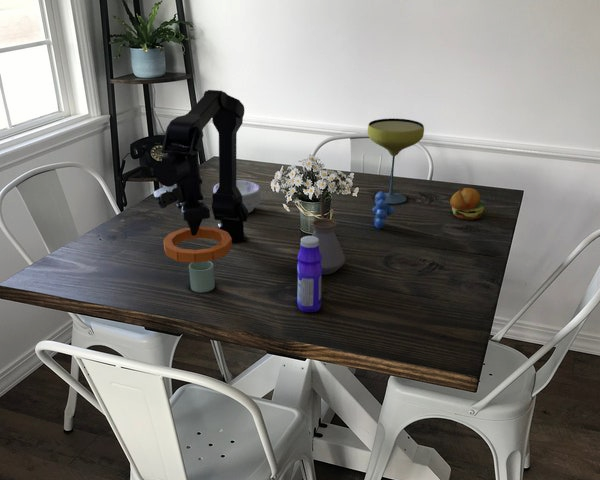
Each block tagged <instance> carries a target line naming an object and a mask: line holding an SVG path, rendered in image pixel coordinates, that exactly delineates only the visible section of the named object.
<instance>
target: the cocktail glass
mask: <svg viewBox="0 0 600 480" xmlns="http://www.w3.org/2000/svg"><path fill="white" fill-rule="evenodd" d="M424 134H425V126H424V124H423V123H422V122H420V121H417V120H414V119H413V120H412V119H406V118H380V119H374V120H372V121H370V122H369V123H368V124H367V136H368V138H369V139H370V140H371V141H372V142H373V143H374V144H376V145H378V146H380V147H381V148H384V149H385V150H387V152H388V153H389V155H390V156H391V157H392V161H391V174H390V185H389V190H388V192H384V193H385V195H386V196H387V198H386V199H385V201H386V202H387V204H388V205H400V204H403V203H405V202H406V201H407V197H406V195H404V194H401V193H397V192H394V187H393V186H394V172H395V171H394V170H395V157H397V156H398V154H400V152H401V151H403V150H404V149H407V148H410V147H412V146H414V145H416V144H418V143H420V141H421V140H423V137H424ZM376 199H377V198H376V197H375V196H374V201H375V200H376Z"/></svg>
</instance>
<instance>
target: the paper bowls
mask: <svg viewBox="0 0 600 480" xmlns="http://www.w3.org/2000/svg"><path fill="white" fill-rule="evenodd" d="M236 186H237V188H238V189H239V191H240V193H241V194H242V203H243V204H244V205H245V207H246V208H247V210H248V214H249V213H251V212H253V211H254V209H255V207H258V206H259V205H261V202H262V200H261V199H262V195H261V194H262V192H261V191H262V189H261V186H260V185H259V184H258V183H256V182H253V181H249V180H238V179H236ZM218 187H219V182H218V183H216V184H215V185H214V186H213V189H212V195H213V194H214V193H215V192H216V191H217V189H218Z"/></svg>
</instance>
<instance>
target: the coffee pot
mask: <svg viewBox="0 0 600 480" xmlns="http://www.w3.org/2000/svg"><path fill="white" fill-rule="evenodd" d="M319 198H320V199H319ZM317 200H318V201H319V204H320V207H319V211H320V218H317V219H314V220H312V222H311V226H312V227H313V231H312V234H311V236H314V237H317V238H318V239H319V251H320V253H321V255H322V259H321V260H320V261H321V266H322V274H321V275H330V274H333V273H336V272H337V271H338V270H340V269H341V268H342V267H343V266H344V263H345V262H346V256H345V254H344V252H343V249H342V247H341V245H340V242H339V240H338V237H337V235H336V231H335V230H336V227H337V226H338V225H339V223H338V222H337V221H336V220H334V219H331V218H325V212H326V211H325V209H326V207H325V201H326V200H327V197H326V196H324V195H322V194H321V195H320V196H318V198H317Z"/></svg>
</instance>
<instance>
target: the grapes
mask: <svg viewBox="0 0 600 480" xmlns="http://www.w3.org/2000/svg"><path fill="white" fill-rule="evenodd" d="M385 193H386V192H383V190H381V191H378V192H377V193H376V195H375V196H374V198H375V197H376V198H377V199H376V200H375V199H374V204H375V206H374V207H372V209H371V211H372V212H373V213H374V214H375V217H374V218H373V221H374V223H373V225H374V226H375V228H376V229H378V230H381V229H382V228H383V227H384V226H385V225H386V223H387V222H386V218H387V217H388V216H391V215H392V214H393V213H394V212H395V209H394V207H393V206H391V204H387V202H386V201H385V199H386V198H387V196H386V195H385Z"/></svg>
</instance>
